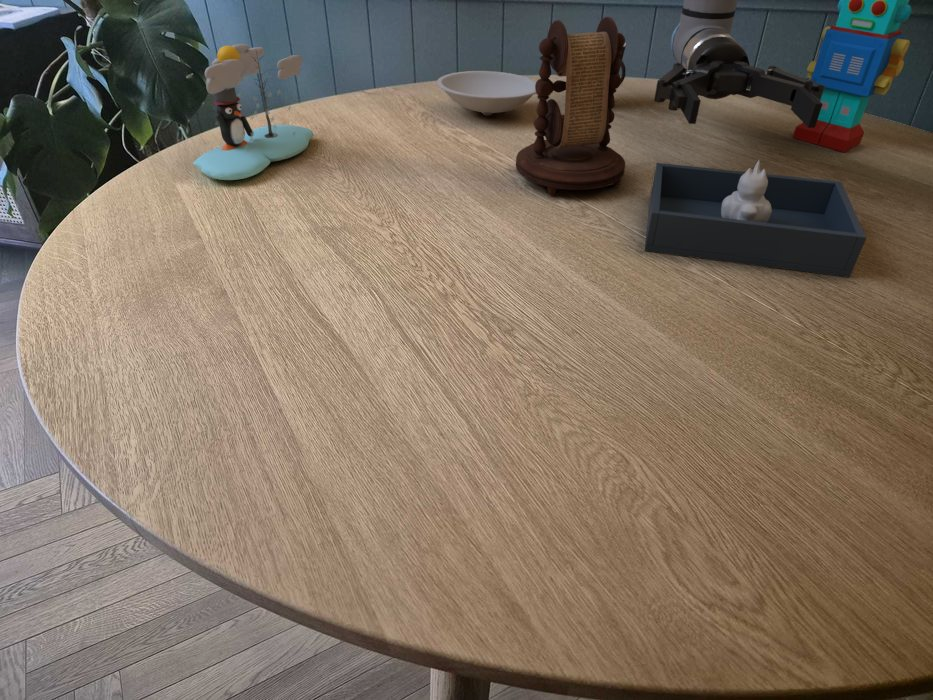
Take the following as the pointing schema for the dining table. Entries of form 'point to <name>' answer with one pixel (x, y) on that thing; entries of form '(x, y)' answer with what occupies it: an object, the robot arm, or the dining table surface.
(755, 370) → the dining table surface
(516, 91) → the dish
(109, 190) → the dining table surface
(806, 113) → the robot arm
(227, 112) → the penguin figurine
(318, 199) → the dining table surface
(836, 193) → the bin
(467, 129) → the dining table surface
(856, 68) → the toy robot
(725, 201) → the white figurine
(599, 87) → the scroll
